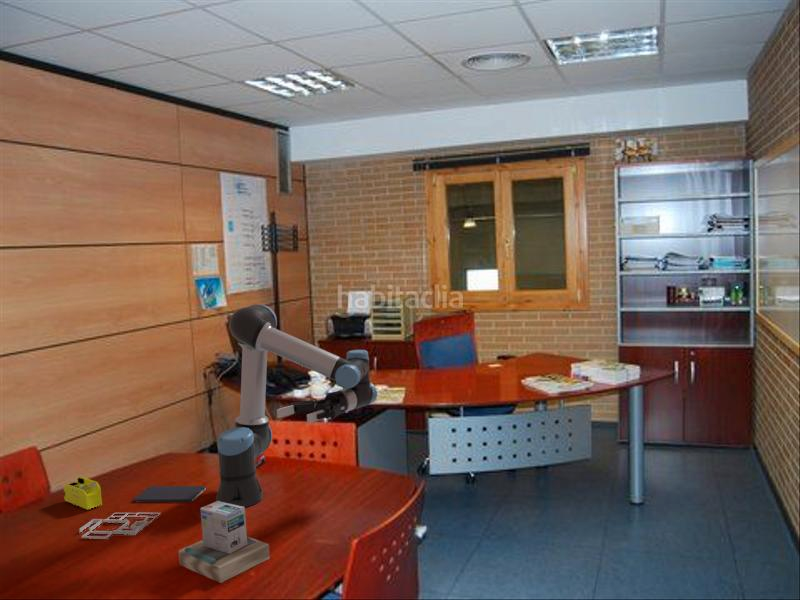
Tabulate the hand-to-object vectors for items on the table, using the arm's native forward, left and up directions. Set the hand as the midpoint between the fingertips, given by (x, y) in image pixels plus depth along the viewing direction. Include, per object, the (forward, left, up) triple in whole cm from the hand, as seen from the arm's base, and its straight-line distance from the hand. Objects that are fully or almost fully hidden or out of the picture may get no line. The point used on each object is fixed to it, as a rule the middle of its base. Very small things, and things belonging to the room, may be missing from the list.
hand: (292, 416), depth 208 cm
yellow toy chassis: (-72, -32, -32) cm, 85 cm away
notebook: (-53, -11, -33) cm, 63 cm away
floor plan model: (-42, -38, -33) cm, 66 cm away
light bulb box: (+5, -31, -28) cm, 42 cm away
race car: (-53, +24, -32) cm, 66 cm away
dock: (+5, -32, -32) cm, 45 cm away
